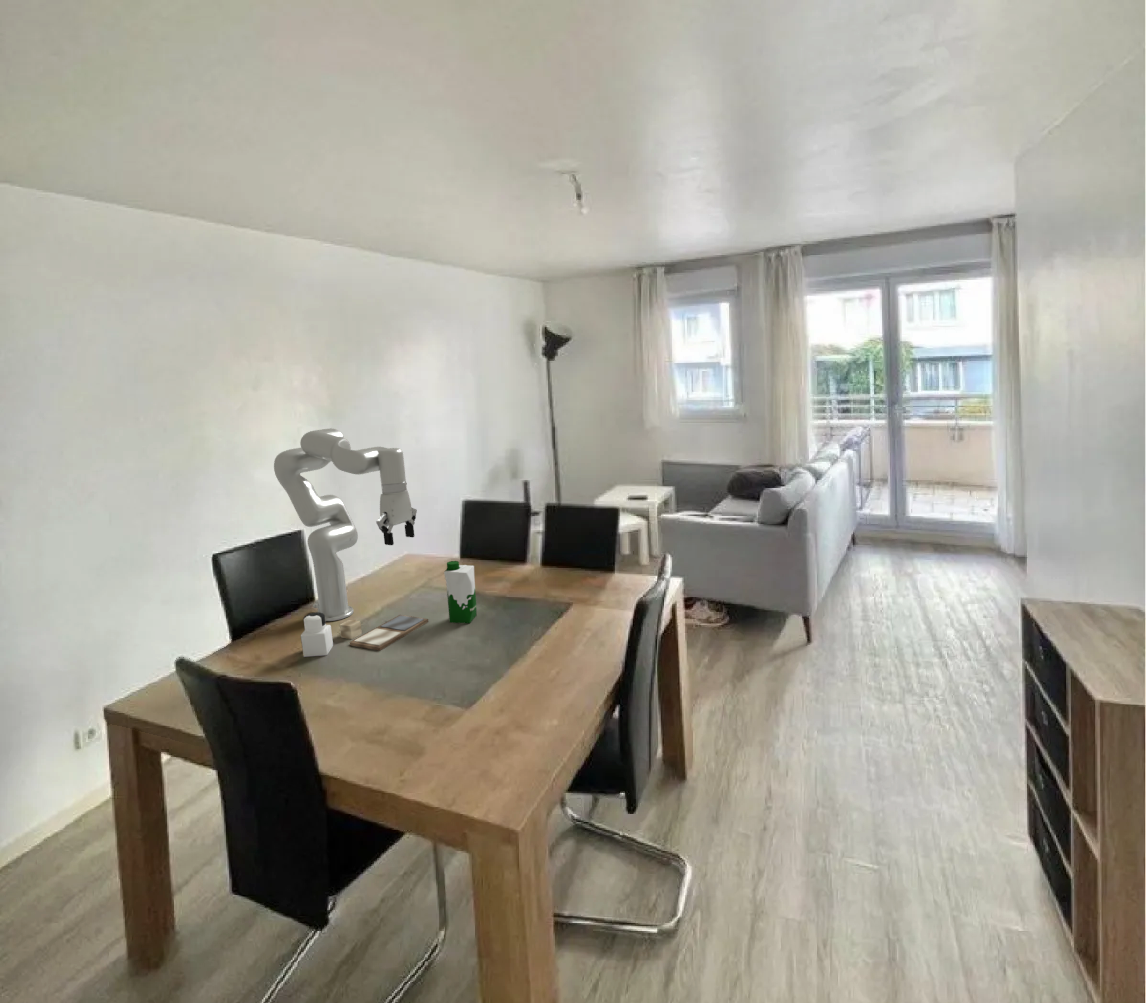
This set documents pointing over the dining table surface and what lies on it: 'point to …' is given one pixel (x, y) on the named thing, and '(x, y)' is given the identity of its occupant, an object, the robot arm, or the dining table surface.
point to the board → (389, 632)
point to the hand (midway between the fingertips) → (399, 540)
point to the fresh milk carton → (460, 592)
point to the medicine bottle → (316, 635)
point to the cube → (350, 629)
